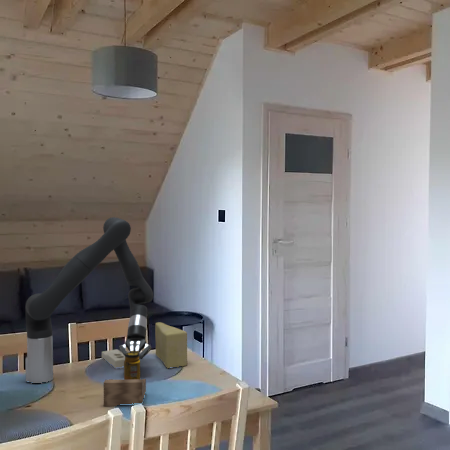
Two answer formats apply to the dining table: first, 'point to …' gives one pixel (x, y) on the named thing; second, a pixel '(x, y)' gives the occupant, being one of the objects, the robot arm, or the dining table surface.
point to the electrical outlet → (114, 357)
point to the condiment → (131, 366)
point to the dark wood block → (124, 391)
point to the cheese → (171, 345)
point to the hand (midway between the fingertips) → (133, 368)
